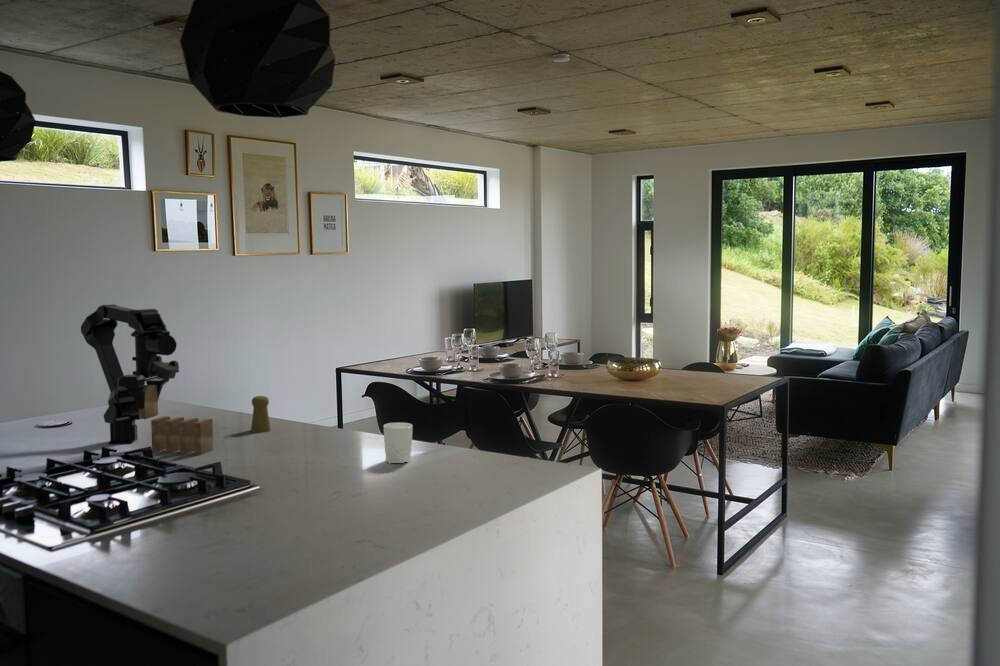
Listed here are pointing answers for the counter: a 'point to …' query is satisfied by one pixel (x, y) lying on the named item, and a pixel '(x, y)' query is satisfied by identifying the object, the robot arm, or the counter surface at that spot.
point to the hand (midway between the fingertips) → (148, 406)
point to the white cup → (398, 442)
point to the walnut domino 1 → (149, 403)
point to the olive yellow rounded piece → (260, 414)
